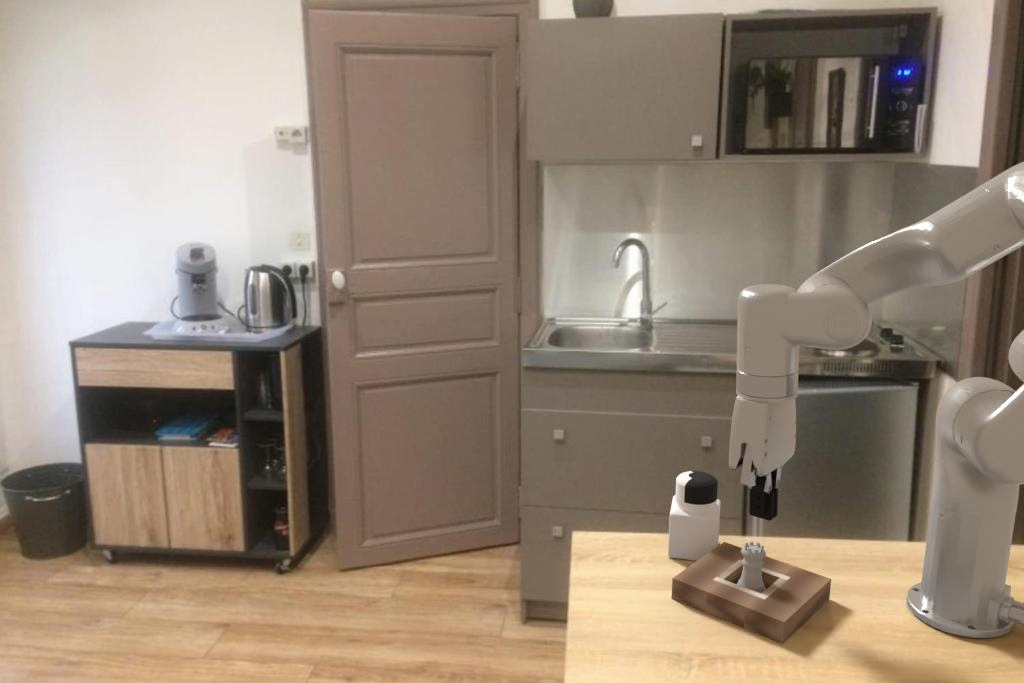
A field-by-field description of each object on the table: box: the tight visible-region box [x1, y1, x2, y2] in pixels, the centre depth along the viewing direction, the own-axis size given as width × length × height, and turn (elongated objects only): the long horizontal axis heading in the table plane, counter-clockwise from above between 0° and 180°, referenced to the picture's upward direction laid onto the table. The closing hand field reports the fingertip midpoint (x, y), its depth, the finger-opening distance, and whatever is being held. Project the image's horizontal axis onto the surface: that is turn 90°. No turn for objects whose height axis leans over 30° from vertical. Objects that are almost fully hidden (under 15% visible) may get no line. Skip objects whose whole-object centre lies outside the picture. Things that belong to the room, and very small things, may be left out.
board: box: [671, 541, 832, 645], centre depth 119 cm, size 16×14×3 cm
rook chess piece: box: [736, 541, 767, 593], centre depth 118 cm, size 4×4×8 cm
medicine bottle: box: [667, 470, 722, 562], centre depth 131 cm, size 7×7×12 cm
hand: (763, 515), depth 116 cm, fingers closed
